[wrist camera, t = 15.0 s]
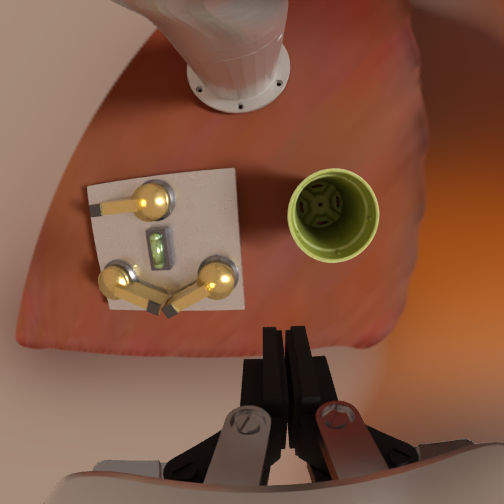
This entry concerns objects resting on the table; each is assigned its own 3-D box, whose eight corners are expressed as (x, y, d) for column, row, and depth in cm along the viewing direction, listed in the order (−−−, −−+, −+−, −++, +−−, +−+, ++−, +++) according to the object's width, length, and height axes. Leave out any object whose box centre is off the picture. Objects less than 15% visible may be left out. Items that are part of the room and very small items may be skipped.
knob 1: (102, 286, 37) (91, 296, 34) (106, 259, 36) (95, 267, 33) (163, 312, 38) (156, 325, 35) (171, 285, 37) (163, 296, 34)
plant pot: (289, 247, 38) (297, 271, 29) (274, 174, 35) (278, 178, 27) (358, 232, 37) (383, 252, 29) (347, 161, 34) (371, 161, 26)
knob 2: (223, 253, 35) (219, 262, 32) (241, 282, 36) (240, 294, 33) (161, 289, 37) (153, 300, 34) (180, 315, 38) (174, 327, 35)
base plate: (94, 184, 36) (77, 188, 32) (236, 167, 35) (232, 168, 31) (115, 303, 41) (103, 316, 37) (245, 302, 40) (243, 318, 36)
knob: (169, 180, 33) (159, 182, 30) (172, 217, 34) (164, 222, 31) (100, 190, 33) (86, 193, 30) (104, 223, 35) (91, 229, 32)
